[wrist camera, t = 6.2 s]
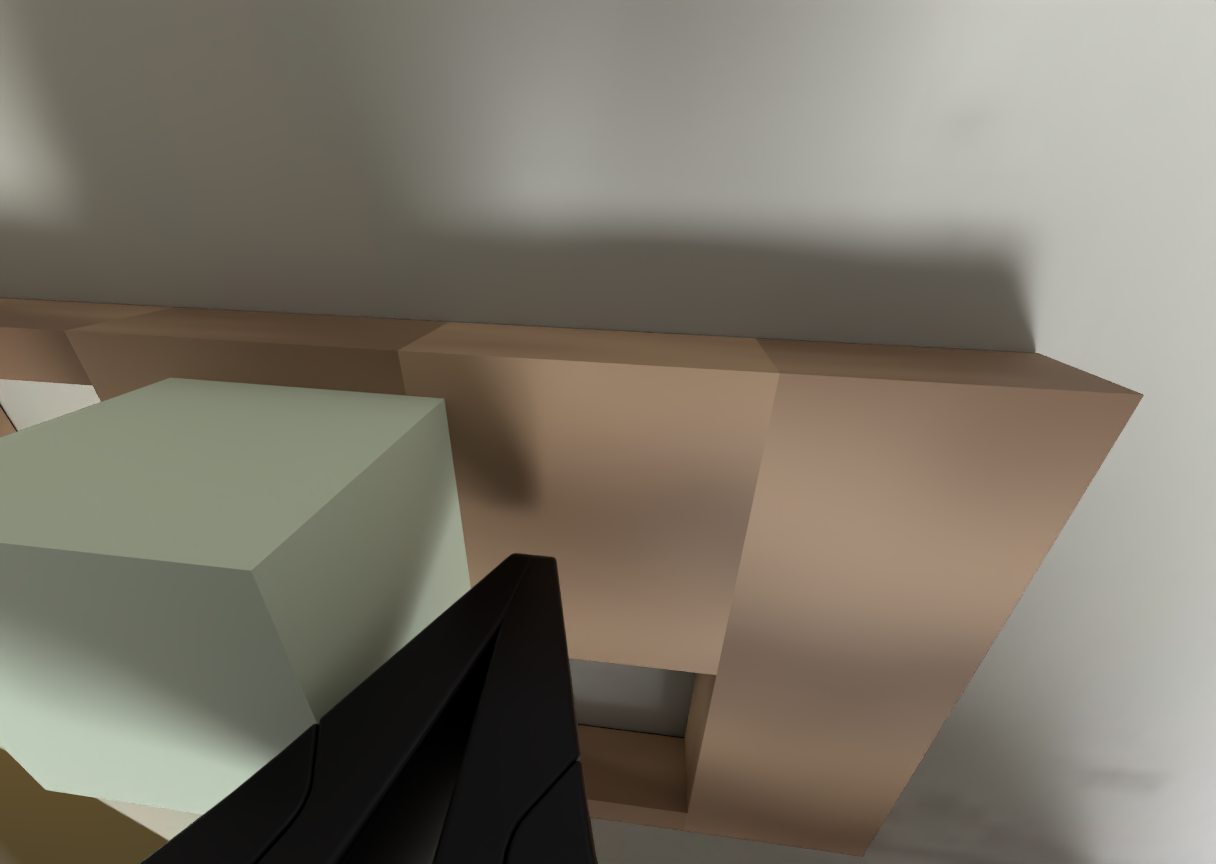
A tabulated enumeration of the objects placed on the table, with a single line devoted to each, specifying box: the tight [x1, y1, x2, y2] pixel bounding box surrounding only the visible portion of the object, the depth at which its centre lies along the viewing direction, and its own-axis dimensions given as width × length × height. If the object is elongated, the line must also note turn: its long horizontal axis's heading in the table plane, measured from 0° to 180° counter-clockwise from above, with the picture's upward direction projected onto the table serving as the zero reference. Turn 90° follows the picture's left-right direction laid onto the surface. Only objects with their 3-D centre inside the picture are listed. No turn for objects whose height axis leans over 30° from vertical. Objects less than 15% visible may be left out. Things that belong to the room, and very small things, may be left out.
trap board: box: [0, 298, 1143, 856], centre depth 11 cm, size 14×32×3 cm, turn 89°
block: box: [0, 378, 471, 815], centre depth 7 cm, size 5×5×4 cm
